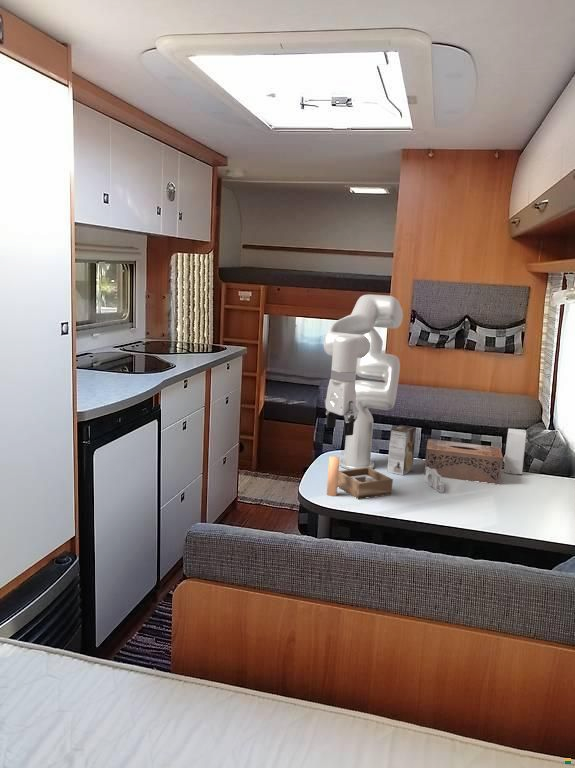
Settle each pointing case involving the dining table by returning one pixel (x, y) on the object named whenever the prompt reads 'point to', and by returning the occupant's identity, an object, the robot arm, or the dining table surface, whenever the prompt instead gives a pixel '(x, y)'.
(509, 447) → the skincare box
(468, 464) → the tissue box cover
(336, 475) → the peg
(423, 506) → the dining table surface
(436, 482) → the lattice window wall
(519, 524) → the dining table surface
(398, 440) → the coffee box
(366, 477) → the box
